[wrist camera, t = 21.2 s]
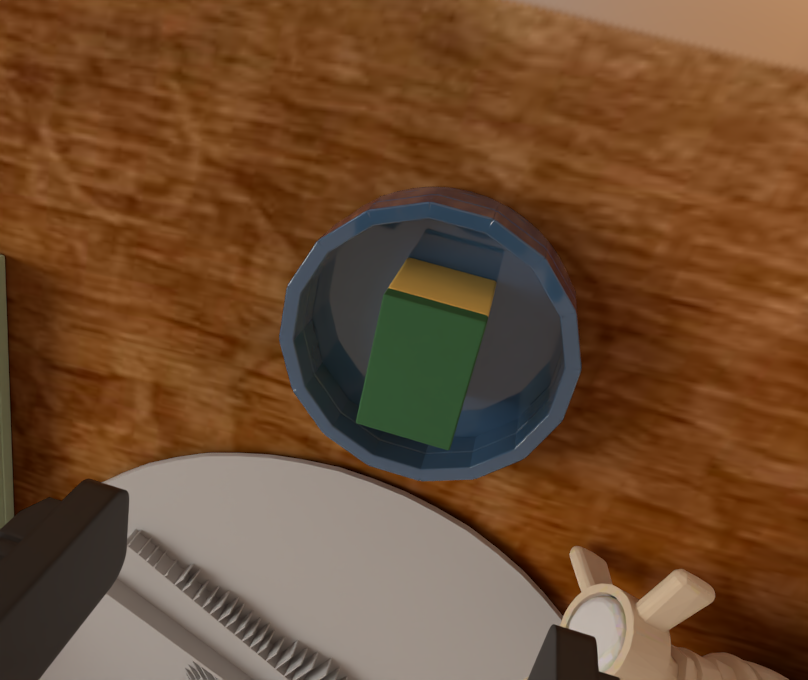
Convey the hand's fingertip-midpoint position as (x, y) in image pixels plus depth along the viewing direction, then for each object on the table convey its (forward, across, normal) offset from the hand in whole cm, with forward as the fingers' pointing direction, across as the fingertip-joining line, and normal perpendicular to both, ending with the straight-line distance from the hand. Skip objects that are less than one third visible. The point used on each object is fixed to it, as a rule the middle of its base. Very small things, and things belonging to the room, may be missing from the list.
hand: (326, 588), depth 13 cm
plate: (+13, +2, +21) cm, 25 cm away
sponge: (+12, 0, 0) cm, 12 cm away
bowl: (+13, 0, 0) cm, 13 cm away
